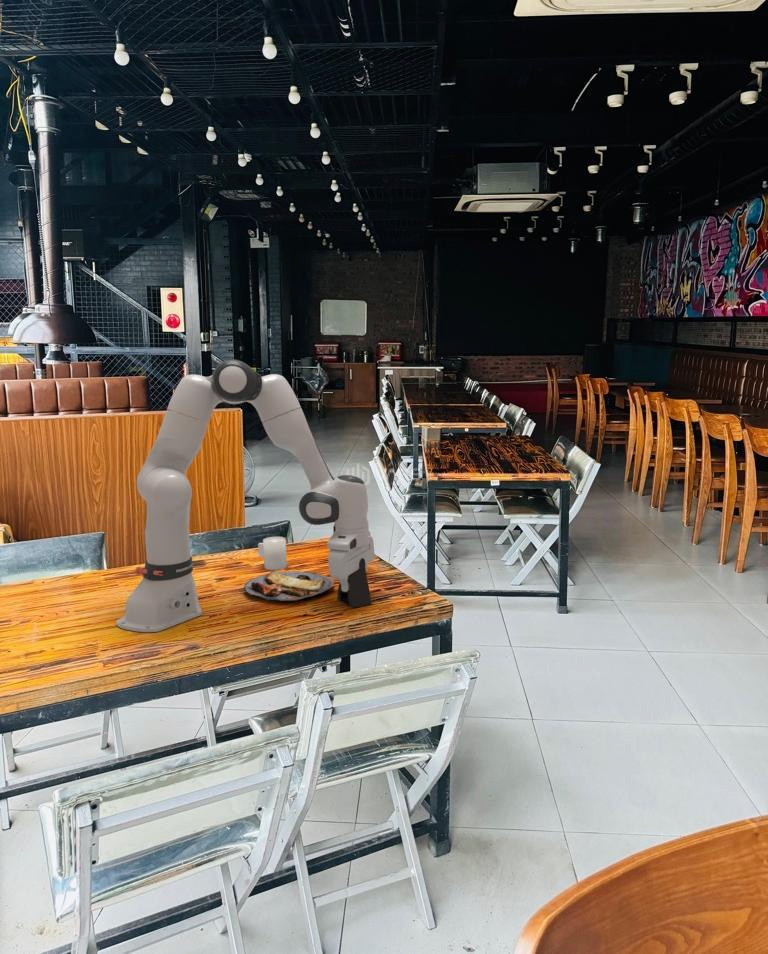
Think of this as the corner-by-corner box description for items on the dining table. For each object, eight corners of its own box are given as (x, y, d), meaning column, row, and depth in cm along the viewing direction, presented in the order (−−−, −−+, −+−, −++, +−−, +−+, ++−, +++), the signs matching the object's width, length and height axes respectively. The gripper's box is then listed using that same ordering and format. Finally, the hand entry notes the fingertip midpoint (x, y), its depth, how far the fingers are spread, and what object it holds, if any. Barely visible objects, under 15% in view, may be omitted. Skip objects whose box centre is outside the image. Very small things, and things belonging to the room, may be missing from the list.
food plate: (227, 596, 212) (227, 584, 212) (276, 573, 233) (276, 562, 232) (302, 611, 201) (302, 598, 200) (347, 586, 221) (347, 575, 221)
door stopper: (371, 604, 203) (370, 561, 201) (352, 608, 201) (350, 565, 198) (356, 595, 211) (355, 553, 209) (336, 599, 208) (335, 557, 206)
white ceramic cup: (279, 571, 235) (277, 543, 233) (254, 568, 239) (252, 540, 237) (291, 565, 241) (289, 537, 240) (266, 562, 245) (265, 535, 243)
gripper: (359, 526, 213) (360, 573, 216) (323, 544, 195) (325, 595, 197) (379, 527, 211) (380, 575, 213) (345, 546, 192) (346, 598, 195)
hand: (353, 585), depth 205 cm, fingers open, 8 cm apart
